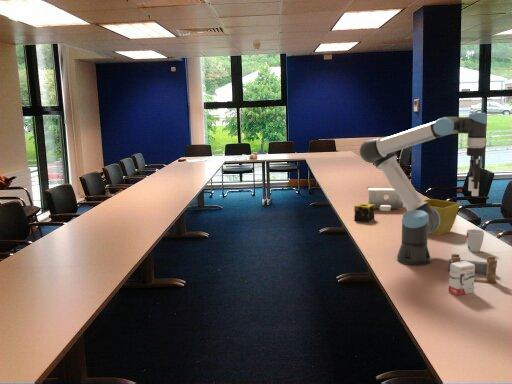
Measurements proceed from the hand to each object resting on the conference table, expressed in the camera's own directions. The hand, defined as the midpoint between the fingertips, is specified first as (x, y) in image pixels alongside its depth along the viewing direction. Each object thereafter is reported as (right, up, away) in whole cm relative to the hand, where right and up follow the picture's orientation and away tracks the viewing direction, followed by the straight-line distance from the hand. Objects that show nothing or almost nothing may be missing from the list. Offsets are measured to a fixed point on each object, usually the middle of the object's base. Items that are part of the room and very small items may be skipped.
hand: (473, 193), depth 231 cm
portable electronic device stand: (-8, -11, +127) cm, 128 cm away
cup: (+10, -29, +23) cm, 39 cm away
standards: (-8, -37, -18) cm, 42 cm away
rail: (-5, -35, -9) cm, 37 cm away
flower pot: (+4, -22, +61) cm, 65 cm away
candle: (-30, -18, +91) cm, 98 cm away
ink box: (-19, -39, -32) cm, 54 cm away
